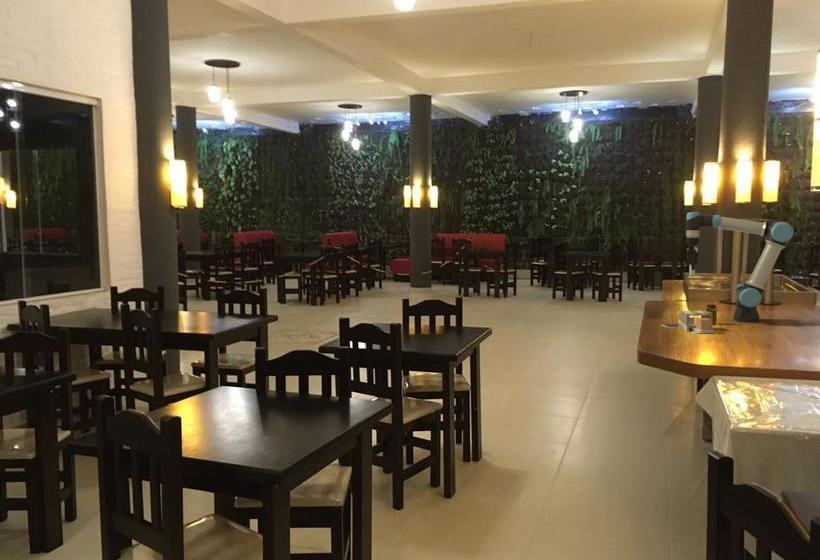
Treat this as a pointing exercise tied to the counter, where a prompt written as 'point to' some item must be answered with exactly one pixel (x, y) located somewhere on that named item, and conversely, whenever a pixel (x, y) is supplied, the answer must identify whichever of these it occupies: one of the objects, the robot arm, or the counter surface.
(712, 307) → the condiment
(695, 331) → the mat
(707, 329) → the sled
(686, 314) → the tunnel
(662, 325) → the pad
